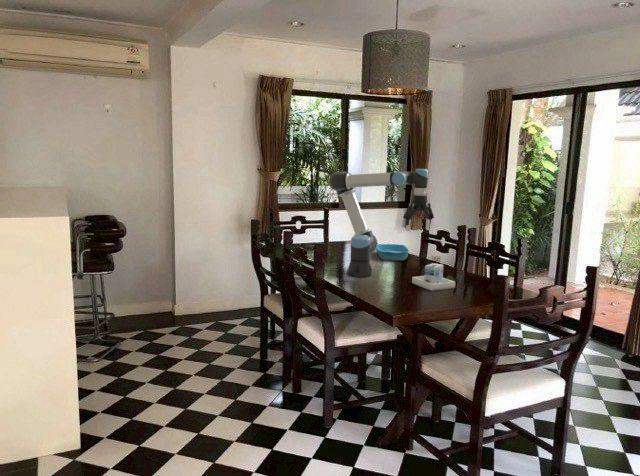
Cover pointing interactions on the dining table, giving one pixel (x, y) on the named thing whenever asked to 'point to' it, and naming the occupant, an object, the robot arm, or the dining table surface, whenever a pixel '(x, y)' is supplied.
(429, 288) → the tray
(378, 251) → the casserole dish
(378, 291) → the dining table surface
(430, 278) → the light bulb box
